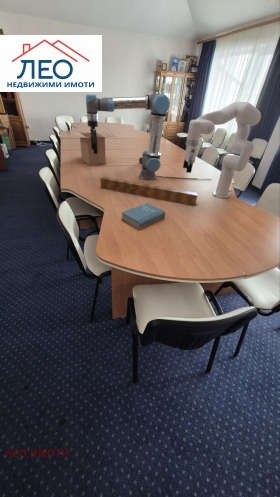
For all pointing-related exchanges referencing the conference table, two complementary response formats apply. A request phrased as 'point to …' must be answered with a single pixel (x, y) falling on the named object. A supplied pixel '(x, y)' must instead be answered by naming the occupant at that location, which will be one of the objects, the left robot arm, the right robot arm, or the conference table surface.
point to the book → (142, 215)
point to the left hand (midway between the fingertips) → (94, 151)
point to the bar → (149, 190)
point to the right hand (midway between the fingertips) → (186, 170)
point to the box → (87, 149)
